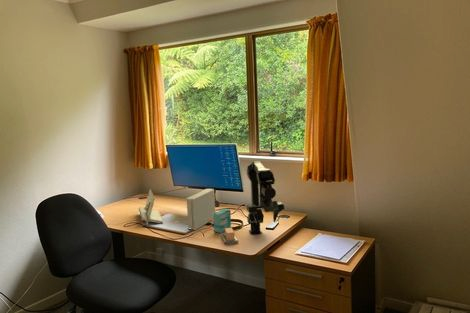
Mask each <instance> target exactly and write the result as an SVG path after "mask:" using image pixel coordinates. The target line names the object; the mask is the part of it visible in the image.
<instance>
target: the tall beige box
mask: <svg viewBox="0 0 470 313" xmlns="http://www.w3.org/2000/svg"><path fill="white" fill-rule="evenodd" d="M224 235H225V240H226V241H233V240H235V237H236V236H235V237H234V235H235V231H234V229H233V228H232V227H230V228H225V231H224Z"/></svg>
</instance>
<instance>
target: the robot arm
mask: <svg viewBox="0 0 470 313" xmlns="http://www.w3.org/2000/svg"><path fill="white" fill-rule="evenodd" d="M274 175H275V174H274V173H273V171H272V170H271V169H270V168H266V167H265V166H264V165H263V164H262V161H259V160H257V161H252V162H251V164H249V165H248V166H247V168H246V176H247V179H248V180H249V181H250V200H251V204H247V206H246V210H247V212H248V215H247V218H246V219H247V221H246V222H247V224H249V226H250V230H248V231H249V233H250V235H259V234H263V232H262V230H261V224H263V223H264V218H265V215H264V213H263V210H264V212H265V213H268V212H269V213H270V212H272V214H273V217H272V218H273V220H272V221H273V223H276V222H277V218H278V215H279V214H280V212H283V210H285V204H284V203H283V202H281V201H277V200H273V199H274V198H275V196H276V195H277V191H276V189H275V188H273V186H272V185H275V182H276V179H275V176H274Z"/></svg>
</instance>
